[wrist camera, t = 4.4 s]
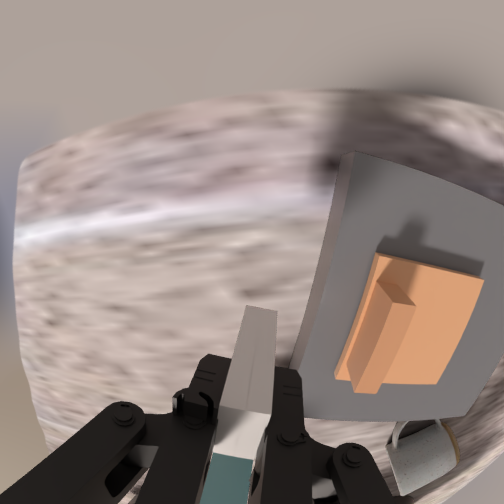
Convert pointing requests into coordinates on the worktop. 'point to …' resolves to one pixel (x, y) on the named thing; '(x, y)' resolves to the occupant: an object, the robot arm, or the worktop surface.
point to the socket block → (412, 248)
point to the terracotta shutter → (406, 324)
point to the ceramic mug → (422, 455)
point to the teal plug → (227, 480)
